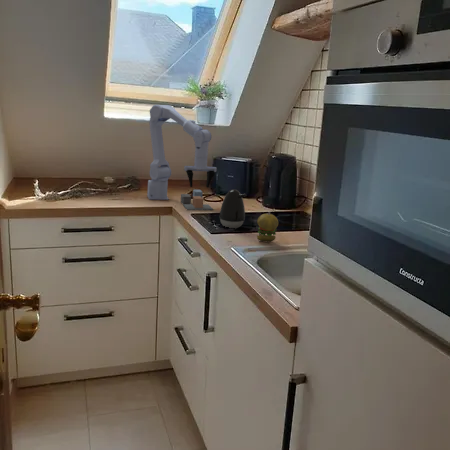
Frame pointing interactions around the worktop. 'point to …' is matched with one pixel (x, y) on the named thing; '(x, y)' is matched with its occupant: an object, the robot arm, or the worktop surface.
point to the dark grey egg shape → (232, 210)
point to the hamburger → (267, 227)
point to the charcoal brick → (185, 199)
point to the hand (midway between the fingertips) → (199, 186)
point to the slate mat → (191, 207)
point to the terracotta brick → (197, 202)
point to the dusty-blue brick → (197, 193)
